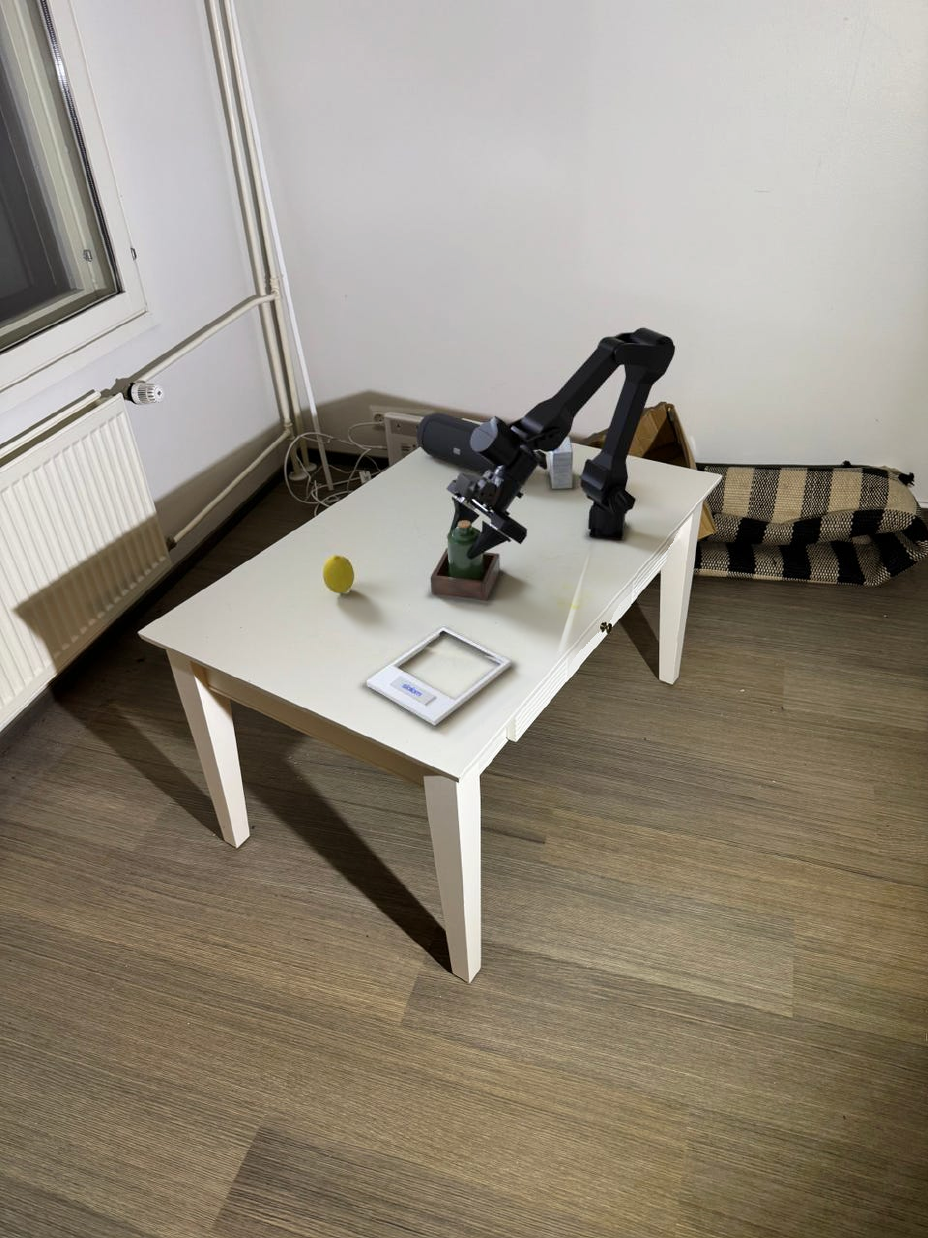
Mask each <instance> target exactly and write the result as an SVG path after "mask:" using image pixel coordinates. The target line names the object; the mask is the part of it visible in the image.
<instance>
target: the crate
mask: <svg viewBox="0 0 928 1238" xmlns="http://www.w3.org/2000/svg"><path fill="white" fill-rule="evenodd" d="M500 557H501V554H500V553H496V552H495V553H494V552H488V551H486V552H484V578H483V580H482V581H476V580H468V579H460V578H452V577H449V563H448V547H446V548H445V550H444V552H443V553H442V555H441V557H440V559H439V561H438V563H437V564H436V566H435V568H434V569H433V572H432V574H431V575H430V589H431V594H432V595H439V596H440V595H441V596H448V597H455V598H461V599H462V598H463V599H470V600H476V601H477V600H478V601H487V600H488V598H489V595H490V594H491V592H492V589H493V587H494V585H495V582H496V580H497V578H498V575H499V573H500V571H501V560H500V559H501V558H500Z"/></svg>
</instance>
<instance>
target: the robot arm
mask: <svg viewBox="0 0 928 1238" xmlns="http://www.w3.org/2000/svg"><path fill="white" fill-rule="evenodd" d="M675 351H676V345H675V344H674V341H673V339H672V338H671V337H670V336H668V335H666V334H662V333H660V332H658V331H655V330H652V329H649V328H647V327H640V328H637V329H635V330H634V331H629V332H627V331H626V332H620V333H618V334H616V335H614V336H612V335H611V336H605V337H603V338H602V339H600V340H599V342H598V344H597V347H596V349H595V350H594V351H593V352H592V353H591V354H590V355H589V356H588V358H586V360H585V361H584V362H583V363H582V364H581V365H580V367H578V369H577V370H576V371H575V372H574V373H573V374H572V376H571V377H569V379H568V380H567V381H566V382H565V384H564V385H562V387H561V388H560V389H559V390H558V391H557V392H556V393H555V394H554V395H553V396H552V397H551V398H547V399H545V400H543V401H540V402H538V403H537V404H536V405H535V406H533V408H531V409H529V411H528V412H527V413H525V414H524V416H523V417H521V418H518V419H516V420H514V421H512V422H510V423H508V424H507V423H506V422H505V421H504V420H503V419H501V418H500V417H498V416H496V415H494V416H493V417H492V419H490V420H489V421H485V422H483V423H481V424H479V425H480V426H479V427H477V428H476V429H475V430H474V432H473V434H472V436H471V440H470V445H471V448H472V449H473V450H474V451H475V452H476V453H478V454H479V455H481V456H482V457H483V458H485V459H486V460H487V461H489V462H490V463H491V464H493V465H494V466H497V468H496V469H495V471H494V472H492V471H490V470H488V471H486V473H485V474H484V473H483V475H479V474H475V473H469V472H462V471H460V472H458V475H457V478H456V479H452V480H451V481H450V483H449V484H448V486H447V487H446V491H448V492H450V493H451V494H452V495H453V496H451V500H452V502H453V506H454V514H453V519H452V522H451V526H450V529H449V532H450V531H452V530H454V529H455V528H457V525H458V523H459V522H460V521H463V520H466V521H469V522H470V523H471V525H473V524H474V522H476V521H477V520H478V518H480V514H479V513H477V512H476V511H475V510H476V509H477V510H478V511H479V512H481V513H482V514H483V515H485V516H486V517H487V518H488V519H490V524H489V523H488V522H486V521H484V520H482V522H481V533H480V535H479V536H478V538H477V540H476V541H475V543H474V544H473V546H472V547H471V549H470V551H469V553H468V555H467V558H468V559H470V560H472V559H473V558H475V557H477V556H479V555H480V554H482V553H484V552H488V551H489V550H491V549H494V548H495V547H498V546H499V545H502V544H504V543H506V542H508V543H511V542H512V540H513V541H514V542H516V543H518V544H519V545H522V544H523V542H524V541H525V539H526V538H527V536H528V528H526V527H524V525H522V524H521V523H520V522H518V521H517V520H515V519H514V518H512V517H511V516H510V514H511V513H510V512H509V511H507V510H508V509H509V508H510V506H511V504H512V503H513V502H514V500H515V499H516V497H517V498H518V499H519V500H521V499H522V498H523V496H524V493H523V492H522V491H521V490H522V489H523V487H524V486H525V484H526V483H527V482H528V480H529V479H530V477H531V476H532V475H533V473H534V472H535V470H536V469H537V468H538V467H539V468H541V469H543V470H544V471H547V470H548V468H549V467H548V461H547V453H550V451H552V452H553V451H555V450H556V449H557V448H558V447H560V445H561V444H562V442H563V441H564V440H565V438H566V437H568V435H569V434H570V433H571V431H572V428H573V424H574V419H575V417H576V416H577V415H578V413H579V412H580V411H581V409H583V407H584V406H585V405H586V404H587V403H588V402H589V401H590V399H592V397H593V396H594V395H595V394H596V393H597V392H598V391H599V390H600V388H601V387H602V386H603V385H604V384H605V382H606V381H607V380H608V379H609V378H610V377H611V376H612V375H613V374H614V373H615V372H616V370H618V368H619V367H620V366H623V367H624V368H623V369H624V374H625V376H624V377H625V378H624V381H623V384H622V388H621V391H620V394H619V397H618V399H617V403H616V405H615V409H614V410H613V415H612V417H611V421H610V423H609V426H608V429H607V432H606V435H605V437H604V441H603V444H602V447H601V450H600V452H599V453H598V454H597V455H596V456H594V457H593V459H590V458H586V460H585V461H584V466H583V470H582V472H581V474H580V475H579V478H578V479H580V488H581V490H582V492H583V493H584V494H585V496H586V499H587V500H590V501H592V505H591V506H590V508H589V511H588V524H587V526H588V527H587V529H588V530H589V533H588V537H590V538H597V539H604V540H605V539H606V540H614V541H622V540H623V537H624V534H625V530H626V527H627V522H626V514H628V512H629V511H631V510H633V509H634V506H635V503H636V502H637V501H636V499H637V498H636V497H635V496H634V495H632V494H631V493H630V492H629V491H628V490H627V484H628V480H629V473H628V467H627V458H628V455H629V452H630V450H631V446H632V444H633V441H634V439H635V435H636V432H637V430H638V427H639V423H640V421H641V418H642V415H643V413H644V410H645V407H646V404H647V401H648V398H649V395H650V394H651V393H650V392H651V390H652V388H653V385H655V384H656V383H657V382H658V381H659V380H660V379H661V378H662V377H663V376H665V374H666V373H667V370H668V369H669V366H670V364H671V363H672V361H673V358H674V357H675V356H674V355H675ZM521 444H524V445H521ZM499 469H500V470H499ZM484 505H485V506H484Z"/></svg>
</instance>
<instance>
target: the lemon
mask: <svg viewBox="0 0 928 1238" xmlns="http://www.w3.org/2000/svg"><path fill="white" fill-rule="evenodd" d="M322 579H323V583H324V585H325V586H326V588H327V589H328V590H330V591H331V592H333V593H337V594H343V593H345V592H348V591H349V590H350V589H351V588H352V587H353V585H354V580H355V571H354V567H353V565H352V563H351V562H350V560H349V559H348V558H347V557H345V556H344V555H343V556H342V555H333V556H331V557H329V558H328V559H327V560H326V561H325V562H324V565H323V568H322Z"/></svg>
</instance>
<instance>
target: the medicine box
mask: <svg viewBox="0 0 928 1238" xmlns="http://www.w3.org/2000/svg"><path fill="white" fill-rule="evenodd" d="M573 468H574V451H573V445H572V441H571V437H570V436H567V437H566V438H565V440H564V441H563V442H562V444H561V445H560V447H558V448H557V449H556V450H555V451H553V452H552V451H550V452H549V476H550V483H551V488H552V490H562V489H565V490H567V489H572V488H573V474H574V472H573V471H574V469H573Z"/></svg>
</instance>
